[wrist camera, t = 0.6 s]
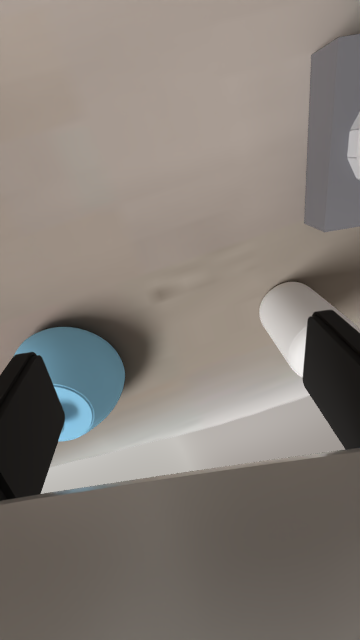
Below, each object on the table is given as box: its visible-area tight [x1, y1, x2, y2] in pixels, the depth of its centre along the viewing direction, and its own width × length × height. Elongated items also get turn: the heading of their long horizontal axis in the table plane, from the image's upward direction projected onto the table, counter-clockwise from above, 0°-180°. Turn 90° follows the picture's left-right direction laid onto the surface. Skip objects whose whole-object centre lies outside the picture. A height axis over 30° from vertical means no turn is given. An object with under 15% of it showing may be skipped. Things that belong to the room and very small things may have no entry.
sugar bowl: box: [13, 327, 125, 441], centre depth 40 cm, size 15×15×12 cm
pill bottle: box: [259, 282, 360, 378], centre depth 36 cm, size 8×8×15 cm
